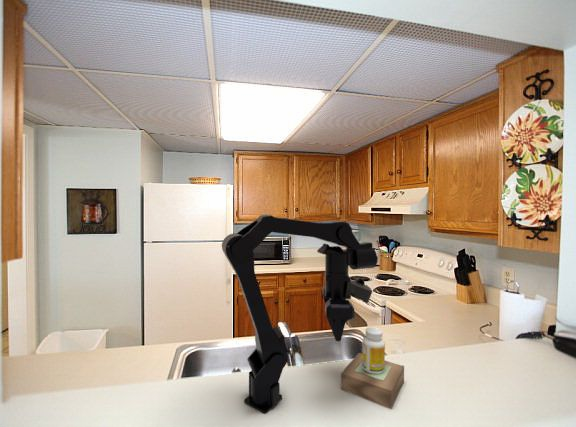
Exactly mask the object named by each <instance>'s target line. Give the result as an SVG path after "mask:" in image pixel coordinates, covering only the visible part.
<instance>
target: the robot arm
mask: <svg viewBox="0 0 576 427" xmlns="http://www.w3.org/2000/svg"><path fill="white" fill-rule="evenodd" d="M271 233H275V234H283V235H291V236H292V235H293V236H301V237H309V238H315V239H317V240H320V241H322V242H326V243H323V244H322V245H321V246H320V247H319V248H318V249H317V253H318V254H321V255H325V260H324V261H325V262H324V263H325V265H324V266H325V268H324V269H325V271H324V283H325V284H324V285H323V286H322V296H323V300H324V301H323V302H324V304H325V305H324V306H325V316H326V319H327V322H328V324H329V327H330V329H331V332H332V334H333V337H334V339H335V342H341V341H342V337H343V333H344V329H345V326H346V323H347V322H348V321H351V320H352V319H353V318H355V307H354V305H353V303H352V302H351V301H350V300H352V298H354V299H357V300H360V301H363V303H365V304H368V303H369V301H370V299H371V297H372V294H373V290H372V289H371V287H370V286H368V285H367V284H366V283H365V279H363V278H361V277H356V278H355V279H351V277H350V276H349V268H350V269H351V270H363V269H375V267H376V266H377V265H378V261H379V258H378V257H379V256H378V255H377V252H376V250H375V248H374V247H373V242H370V241H369V242H368V241H364V242H359V241H358V239H357V237H356V236H355V234H354V233H353V228H352V226H351V225H350V223H348V222H347V221H343V220H342V221H339V220H320V221H309V220H307V221H306V220H300V219H291V218H285V217H279V216H278V217H277V216H274V215H270V214H262V215H259V216H258V217H257V218H256V219H255V220H254V221H252V222H250V224H248V225H246V226H245V227H242V228H241V229H240V230H239V231H238V232H236V233H230V234H228V235H227V236H226V237H224V238H223V240H222V243H221V249H222V252H223V254H224V256H225V258H226V259H227V261H228V263H229V264H230V266H231V268H232V269H233V271H234V273H235V275H236V277H237V280H238V283H239V286H240V289H241V292H242V295H243V298H244V300H245V304H246V307H247V310H248V313H249V316H250V319H251V322H252V325H253V327H254V341H255V347H256V348H255V349H254V350H253V351H252V353H251V354H250V355H249V356H248V357H247V363H248V365H249V367H250V369H251V370H250V371H249V372H248V396H247V397H245V398H244V400H243V401H244V404H246V405H248V406H250V407H252V408H254V409H256V410H257V411H260V412H262V413H263V414H267V413H268V412H269V411H271V409H272V408H273V407H275V406H276V405H277V404H278V403H279V402H280V401H281V400H282V399H283V395H282V394H281V390H280V389H281V388H280V386H281V385H280V378H281V375H282V372H283V370H284V368H285V367H286V365H287V363H288V362H289V353H290V351H291V350H289V348H288V347H287V343H286V338H285V335H284V333H283V332H281V330H280V329H279V327H278V326H277V325H275V326H274V327H273V324H272V322H271V318H270V315H269V313H268V309H267V306H266V303H265V301H264V298H263V294H262V291H261V287H260V285H259V282H258V279H257V275H256V273H255V272H256V271H255V256H254V255H255V253H254V250H255V249H256V248H257V247H258V246H260V245H261V244H262V242H264V240H265V239H266V238H267V237H268V236H269V235H270V234H271ZM327 243H331V244H335V245H337V246H335V245H334V246H332V245H331V246H330V245H329V244H327ZM342 247H344V249H343V248H342Z"/></svg>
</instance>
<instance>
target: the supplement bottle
mask: <svg viewBox="0 0 576 427" xmlns="http://www.w3.org/2000/svg"><path fill="white" fill-rule="evenodd" d="M361 345H362V347H361V349H362V350H361V352H362V367H363V369H364V370H365V371H367V372H369V373H372V374H380V373H382V372H383V371H384V360H385V353H386V352H385V350H386V347H385V346H386V343H385V340H384V339H383V331H382V329H380V328H377V327H367V328H366V329H365V336H364V337H363V339H362V344H361ZM385 361H386V360H385Z"/></svg>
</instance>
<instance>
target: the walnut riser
mask: <svg viewBox="0 0 576 427" xmlns="http://www.w3.org/2000/svg"><path fill="white" fill-rule="evenodd" d="M404 383H405V365H401V364H399V363H395V362H392V361H391V362H390V361H387V360H384V371H383V372H382V373H380V374H372V373H369V372H367V371H365V370H364V369H363V367H362V353H361V352H358V353H357V354H356V355H355V357H354V358H352V360H351V361H350V363H348V364H347V366H346V367H345V368H344V369H343V370H342V371H341V374H340V390H342V391H344V392H347V393H350V394H352V395H354V396H357V397H360V398H363V399H366V400H368V401H370V402H373V403H375V404H377V405H380V406H383V407H385V408H388V409H393V407H394V404H395V402H396V400H397V398H398V395H399V394H400V391H401V390H402V387H403V384H404Z"/></svg>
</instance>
